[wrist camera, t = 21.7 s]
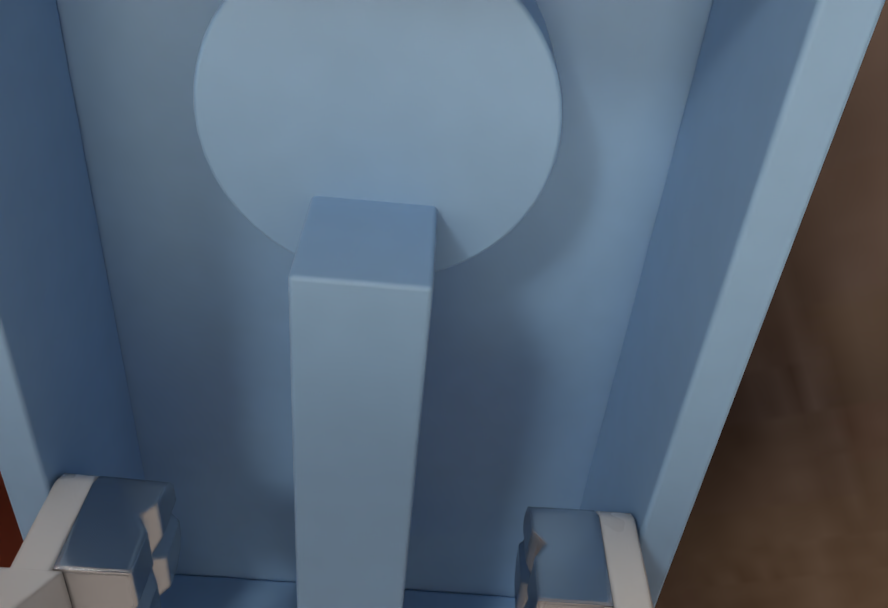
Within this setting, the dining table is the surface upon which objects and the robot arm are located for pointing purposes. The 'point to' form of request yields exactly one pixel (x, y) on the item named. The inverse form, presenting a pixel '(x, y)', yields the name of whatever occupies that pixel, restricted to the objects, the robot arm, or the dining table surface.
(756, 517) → the dining table surface
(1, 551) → the red bin
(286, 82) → the blue spoon
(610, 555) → the robot arm
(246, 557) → the blue bin
